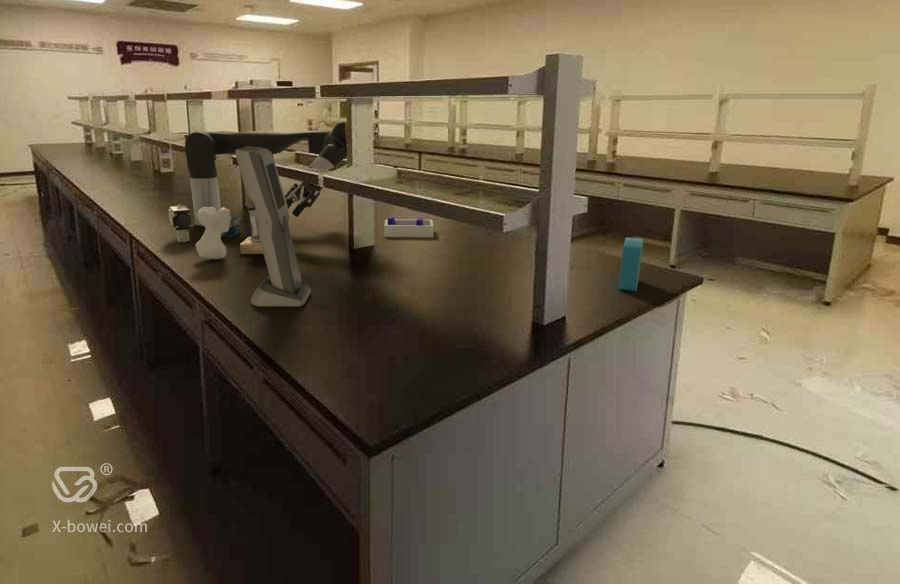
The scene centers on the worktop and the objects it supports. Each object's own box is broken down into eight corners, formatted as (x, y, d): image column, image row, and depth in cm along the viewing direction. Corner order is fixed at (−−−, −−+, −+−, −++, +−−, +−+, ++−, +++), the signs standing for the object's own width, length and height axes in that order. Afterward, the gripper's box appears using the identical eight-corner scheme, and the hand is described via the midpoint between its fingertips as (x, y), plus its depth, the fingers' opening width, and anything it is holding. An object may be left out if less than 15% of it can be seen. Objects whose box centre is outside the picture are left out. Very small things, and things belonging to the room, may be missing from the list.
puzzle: (241, 233, 203) (239, 216, 201) (233, 237, 197) (231, 219, 195) (224, 232, 203) (222, 215, 201) (216, 236, 198) (214, 219, 196)
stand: (249, 245, 186) (248, 236, 185) (281, 246, 186) (280, 236, 185) (240, 253, 176) (239, 243, 175) (274, 253, 177) (273, 243, 176)
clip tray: (385, 230, 212) (385, 219, 211) (432, 230, 213) (432, 219, 212) (384, 237, 202) (384, 225, 200) (433, 237, 203) (433, 226, 202)
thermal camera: (259, 291, 143) (246, 145, 132) (312, 291, 144) (304, 146, 133) (246, 307, 132) (231, 150, 121) (303, 307, 133) (293, 151, 122)
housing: (253, 237, 183) (250, 199, 179) (273, 237, 184) (270, 199, 180) (248, 242, 177) (244, 202, 173) (269, 242, 178) (266, 202, 174)
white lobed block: (190, 261, 167) (184, 209, 162) (219, 252, 177) (213, 203, 172) (217, 265, 164) (211, 212, 159) (244, 256, 174) (239, 206, 169)
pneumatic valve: (188, 236, 196) (183, 201, 192) (194, 244, 186) (190, 207, 182) (170, 238, 193) (165, 202, 189) (175, 246, 183) (170, 208, 180)
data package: (621, 278, 160) (626, 236, 157) (638, 280, 159) (643, 237, 155) (617, 291, 150) (623, 245, 146) (636, 293, 148) (642, 247, 144)
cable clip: (423, 234, 208) (423, 217, 206) (420, 237, 203) (420, 220, 202) (391, 232, 210) (391, 215, 208) (387, 235, 206) (387, 218, 204)
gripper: (337, 184, 185) (306, 224, 181) (315, 179, 195) (286, 216, 191) (321, 168, 180) (289, 209, 176) (300, 164, 190) (269, 202, 186)
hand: (287, 213), depth 184 cm, fingers open, 8 cm apart
